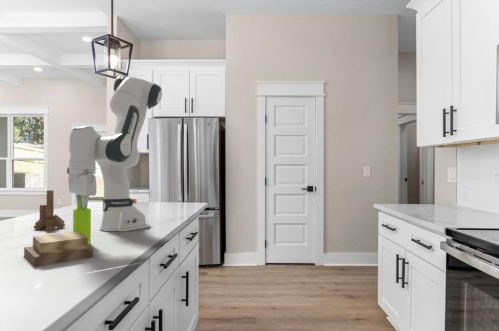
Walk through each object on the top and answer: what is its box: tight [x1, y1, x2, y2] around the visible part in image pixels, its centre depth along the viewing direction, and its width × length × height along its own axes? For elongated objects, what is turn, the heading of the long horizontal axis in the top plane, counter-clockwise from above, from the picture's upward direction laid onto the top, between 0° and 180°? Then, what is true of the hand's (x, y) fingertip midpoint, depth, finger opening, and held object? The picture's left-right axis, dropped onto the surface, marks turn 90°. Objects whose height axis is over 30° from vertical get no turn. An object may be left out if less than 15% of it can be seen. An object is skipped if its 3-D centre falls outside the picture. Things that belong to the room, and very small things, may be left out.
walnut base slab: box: [23, 245, 94, 268], centre depth 110 cm, size 16×16×4 cm
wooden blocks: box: [33, 190, 66, 233], centre depth 162 cm, size 25×12×18 cm, turn 30°
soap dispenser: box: [72, 195, 92, 246], centre depth 128 cm, size 6×7×20 cm
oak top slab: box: [32, 231, 89, 255], centre depth 110 cm, size 13×13×4 cm
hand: (82, 206), depth 127 cm, fingers closed on soap dispenser, 3 cm apart
